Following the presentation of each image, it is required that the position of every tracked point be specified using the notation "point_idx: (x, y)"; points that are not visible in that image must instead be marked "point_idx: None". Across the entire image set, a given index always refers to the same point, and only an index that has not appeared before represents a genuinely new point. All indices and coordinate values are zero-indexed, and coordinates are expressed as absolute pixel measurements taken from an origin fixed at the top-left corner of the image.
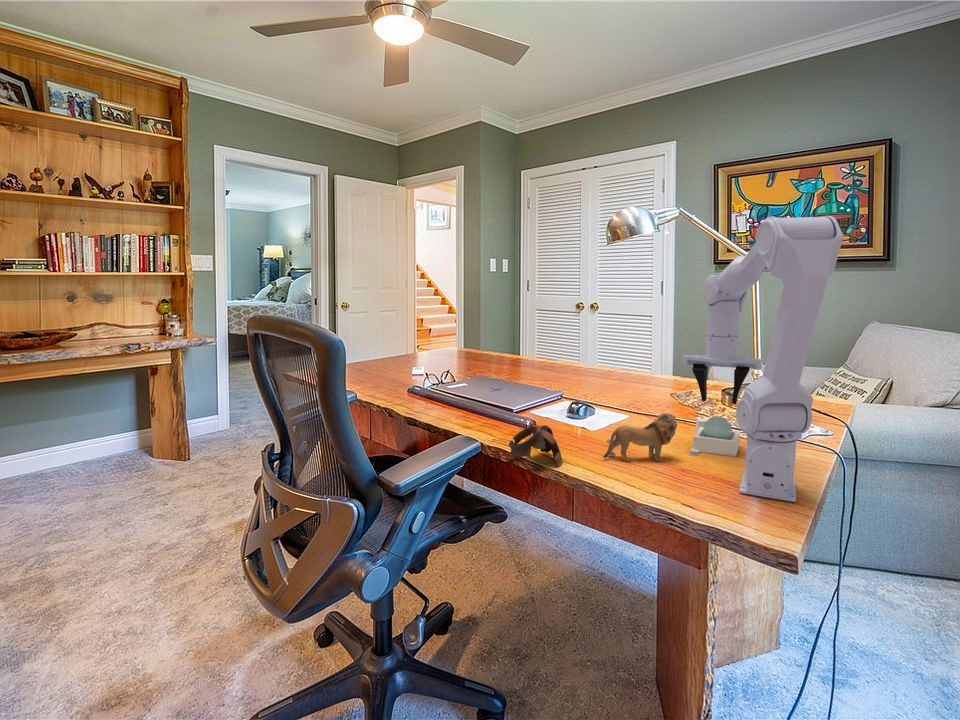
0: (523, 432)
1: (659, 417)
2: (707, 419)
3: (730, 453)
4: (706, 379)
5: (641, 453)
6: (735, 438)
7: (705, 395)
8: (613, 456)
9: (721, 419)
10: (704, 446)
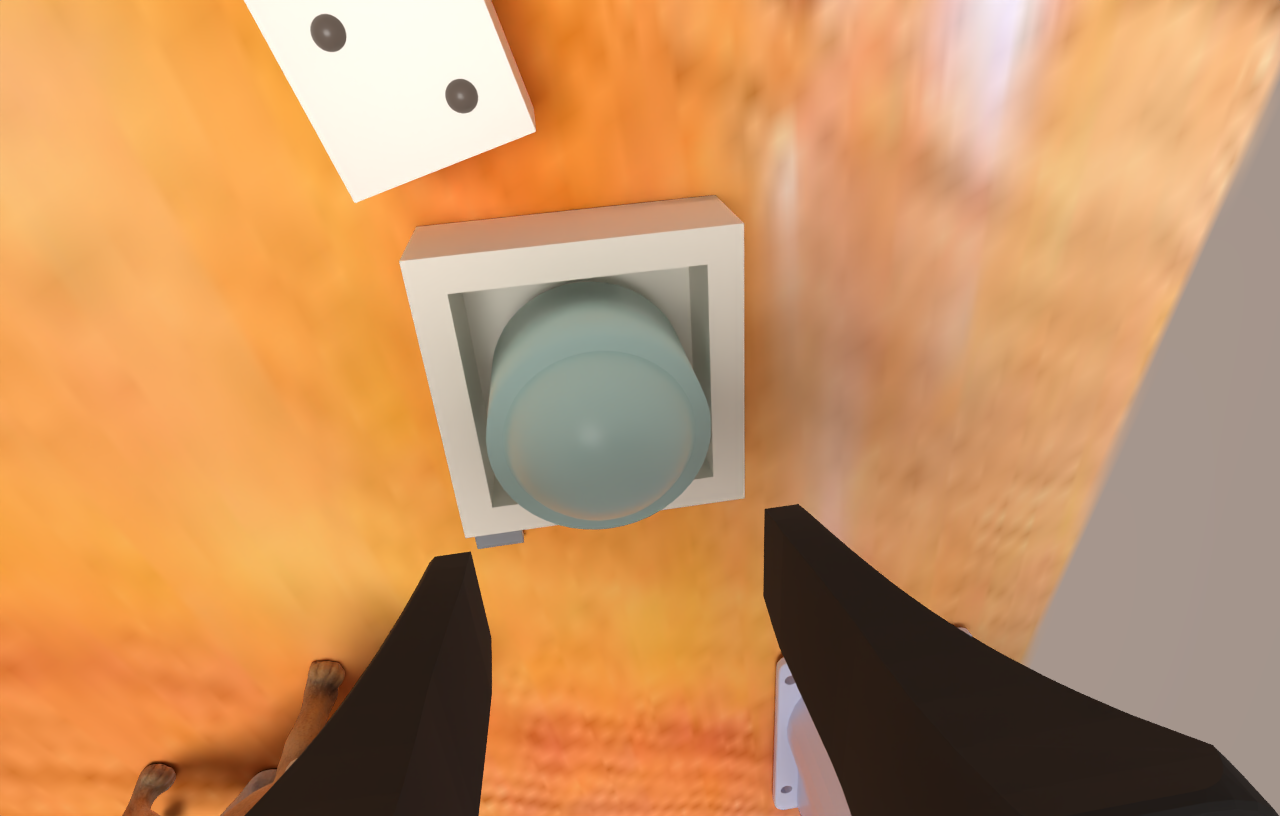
0: None
1: None
2: (403, 72)
3: None
4: (428, 784)
5: (250, 664)
6: (727, 425)
7: (484, 680)
8: (174, 778)
9: (642, 496)
10: None
